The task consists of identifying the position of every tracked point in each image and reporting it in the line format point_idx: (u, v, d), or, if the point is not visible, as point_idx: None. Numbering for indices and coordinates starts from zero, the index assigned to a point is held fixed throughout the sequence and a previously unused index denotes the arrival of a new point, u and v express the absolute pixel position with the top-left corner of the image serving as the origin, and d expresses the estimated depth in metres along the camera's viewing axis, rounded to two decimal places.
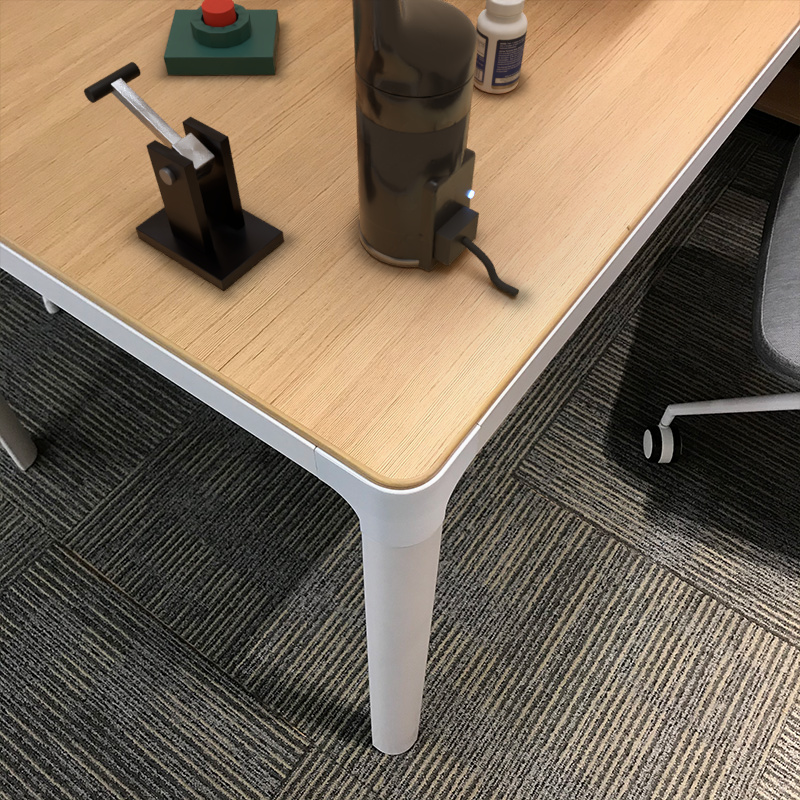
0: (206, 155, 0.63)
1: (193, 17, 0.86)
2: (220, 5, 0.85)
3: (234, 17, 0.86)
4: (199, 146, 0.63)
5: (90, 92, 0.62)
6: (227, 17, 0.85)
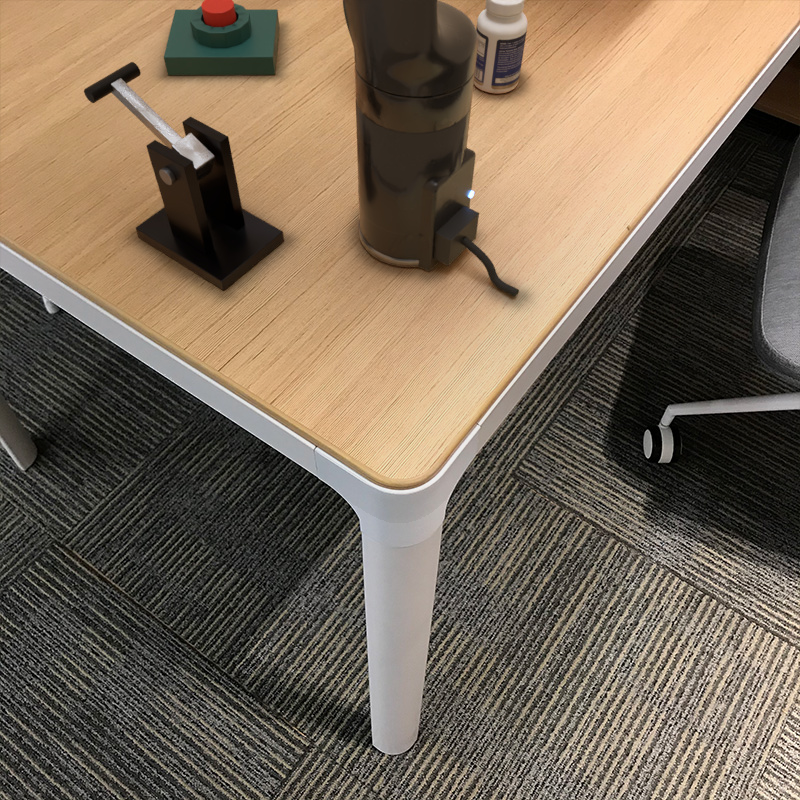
0: (206, 155, 0.63)
1: (193, 17, 0.86)
2: (220, 5, 0.85)
3: (234, 17, 0.86)
4: (199, 146, 0.63)
5: (90, 92, 0.62)
6: (227, 17, 0.85)
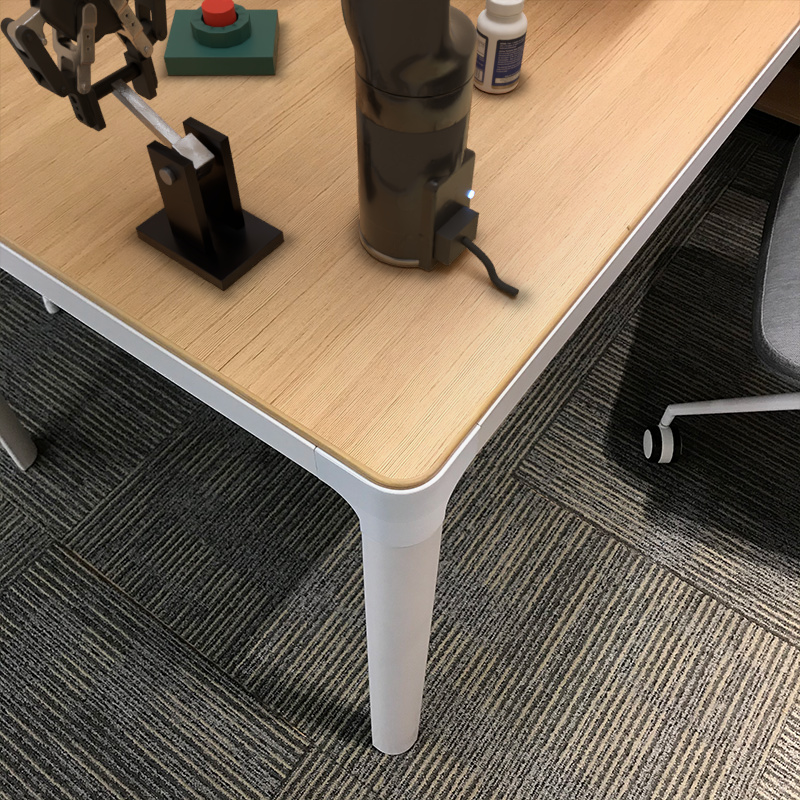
0: (206, 155, 0.63)
1: (193, 17, 0.86)
2: (220, 5, 0.85)
3: (234, 17, 0.86)
4: (199, 146, 0.63)
5: None
6: (227, 17, 0.85)
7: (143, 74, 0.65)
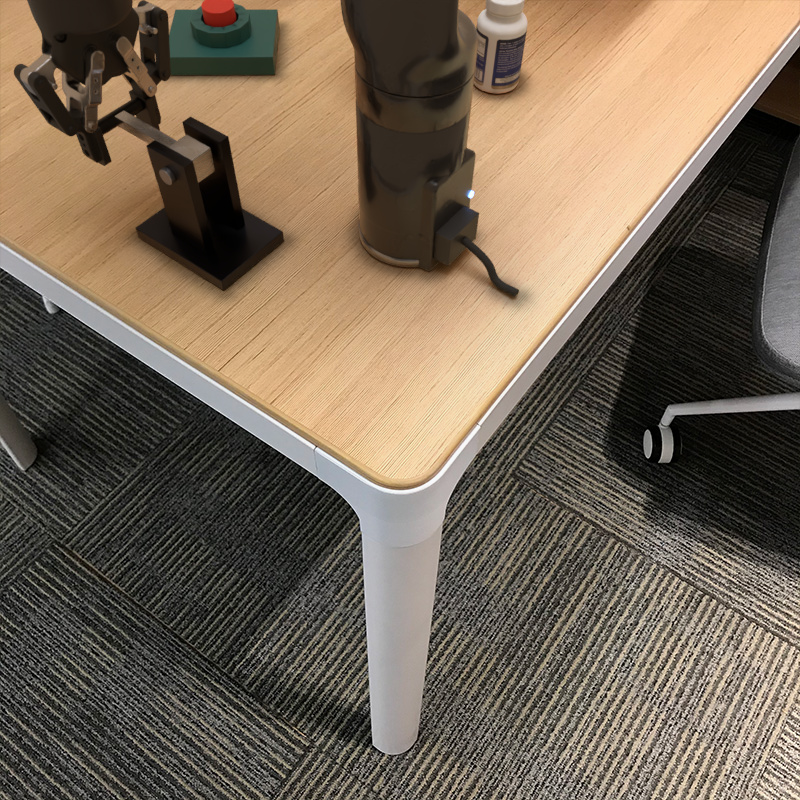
0: (201, 148, 0.63)
1: (193, 17, 0.86)
2: (220, 5, 0.85)
3: (234, 17, 0.86)
4: (195, 143, 0.63)
5: None
6: (227, 17, 0.85)
7: (147, 112, 0.68)
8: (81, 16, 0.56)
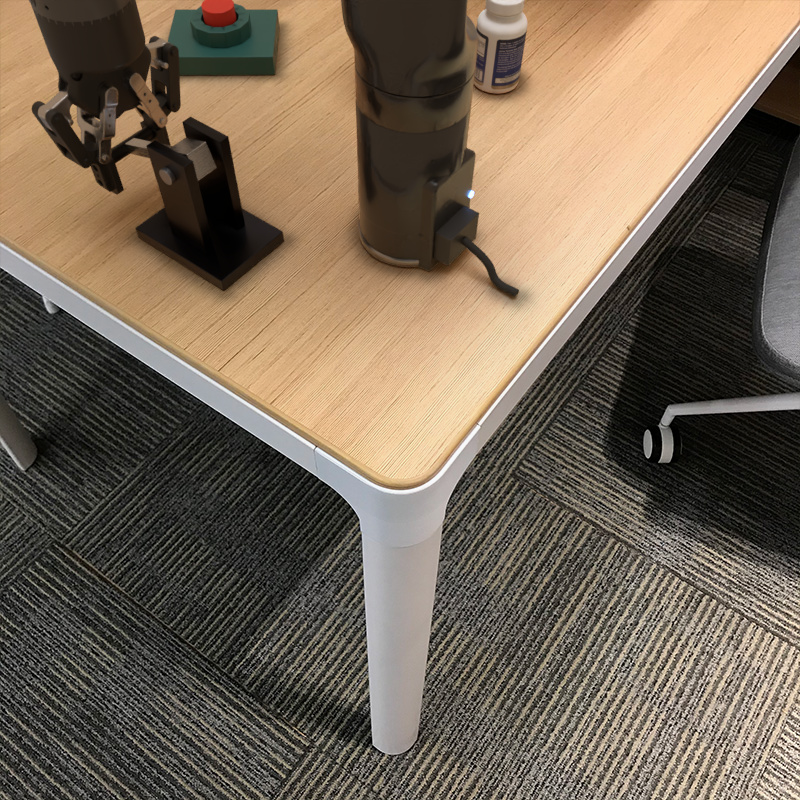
0: (197, 144, 0.63)
1: (193, 17, 0.86)
2: (220, 5, 0.85)
3: (234, 17, 0.86)
4: (191, 141, 0.64)
5: None
6: (227, 17, 0.85)
7: None
8: (97, 57, 0.58)
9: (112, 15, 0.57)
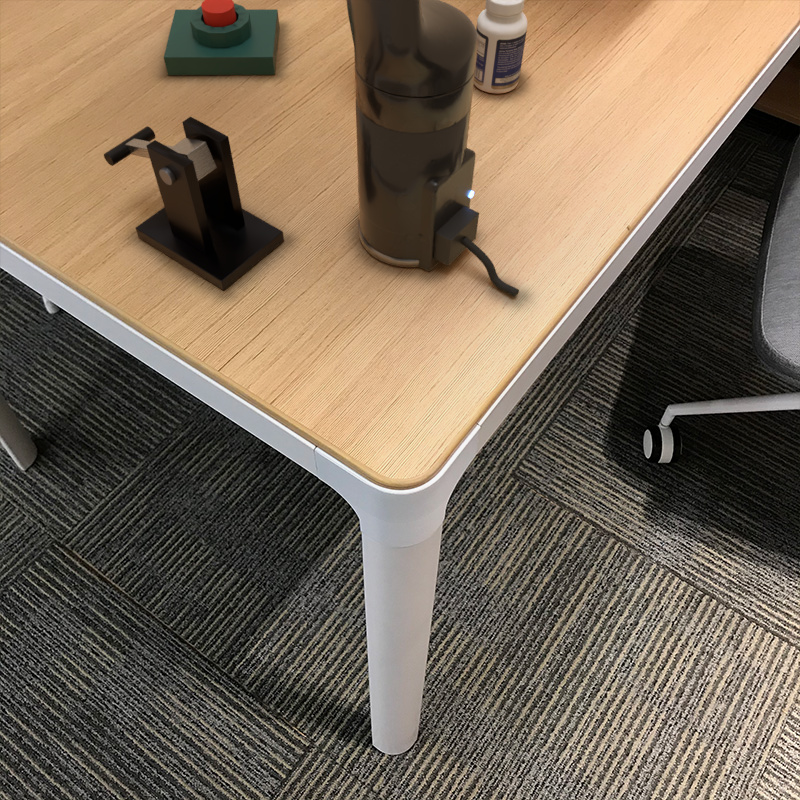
0: (197, 144, 0.63)
1: (193, 17, 0.86)
2: (220, 5, 0.85)
3: (234, 17, 0.86)
4: (191, 141, 0.64)
5: (106, 154, 0.67)
6: (227, 17, 0.85)
7: None
8: None
9: None
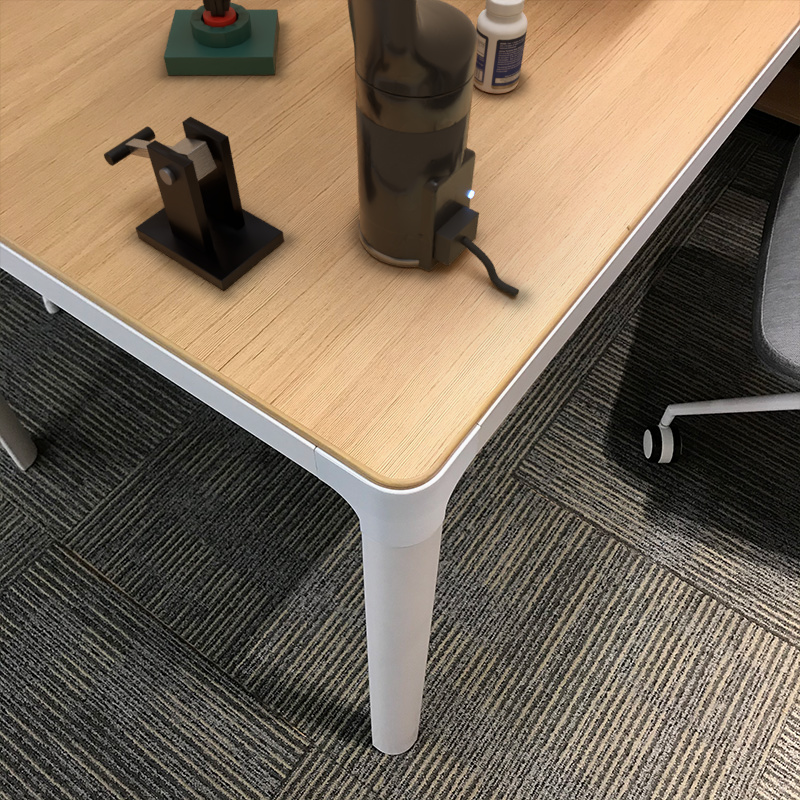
0: (197, 144, 0.63)
1: (193, 17, 0.86)
2: None
3: None
4: (191, 141, 0.64)
5: (106, 154, 0.67)
6: None
7: None
8: None
9: None
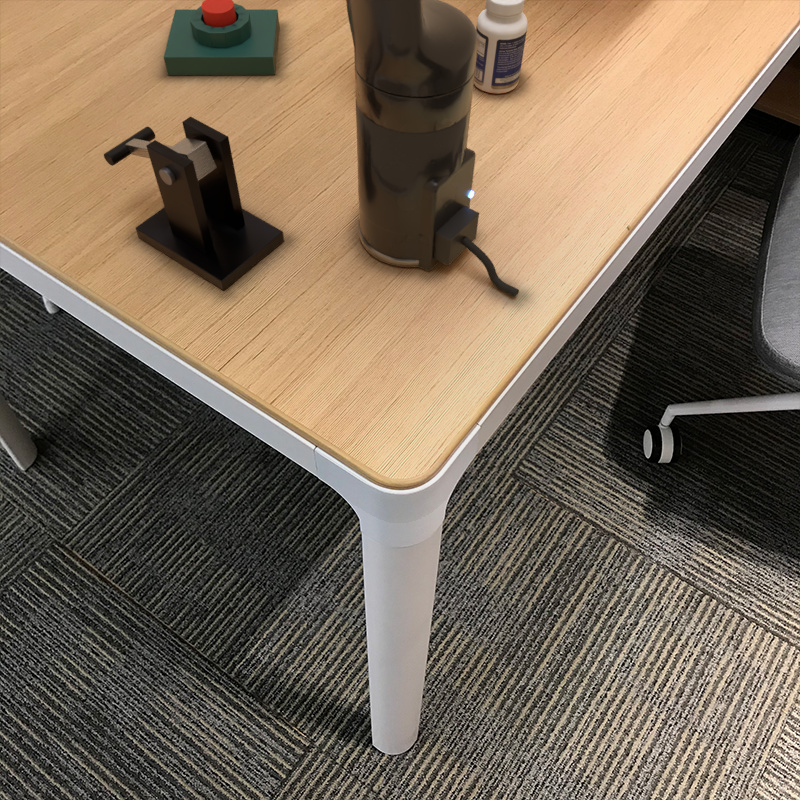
0: (197, 144, 0.63)
1: (193, 17, 0.86)
2: (220, 5, 0.85)
3: (234, 17, 0.86)
4: (191, 141, 0.64)
5: (106, 154, 0.67)
6: (227, 17, 0.85)
7: None
8: None
9: None
